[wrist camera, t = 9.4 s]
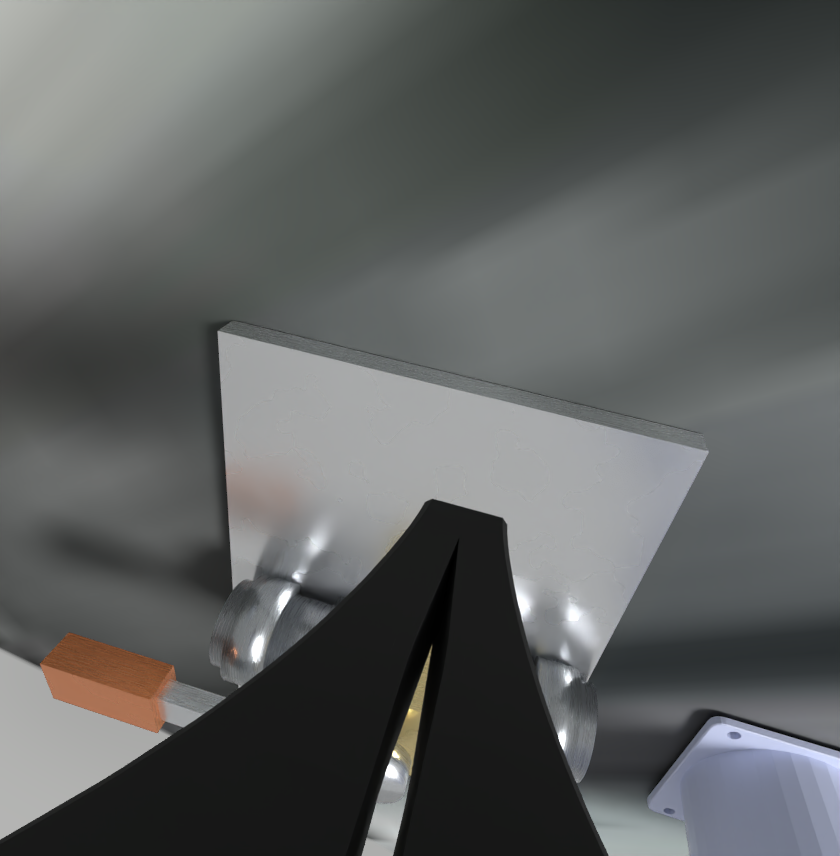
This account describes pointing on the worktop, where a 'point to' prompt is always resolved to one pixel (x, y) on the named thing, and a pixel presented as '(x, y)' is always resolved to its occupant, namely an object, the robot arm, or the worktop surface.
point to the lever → (152, 695)
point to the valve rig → (433, 479)
